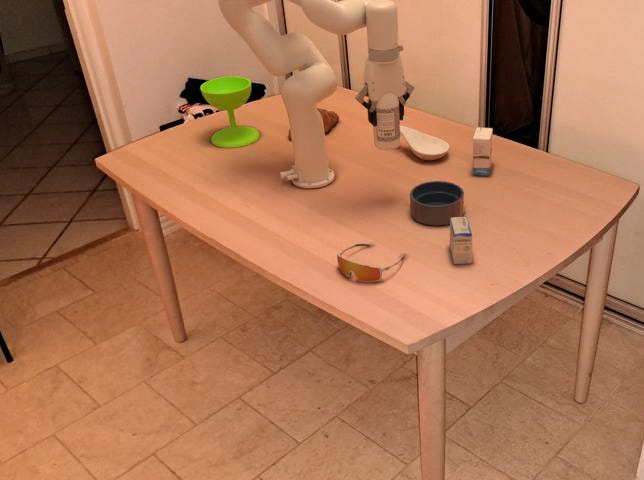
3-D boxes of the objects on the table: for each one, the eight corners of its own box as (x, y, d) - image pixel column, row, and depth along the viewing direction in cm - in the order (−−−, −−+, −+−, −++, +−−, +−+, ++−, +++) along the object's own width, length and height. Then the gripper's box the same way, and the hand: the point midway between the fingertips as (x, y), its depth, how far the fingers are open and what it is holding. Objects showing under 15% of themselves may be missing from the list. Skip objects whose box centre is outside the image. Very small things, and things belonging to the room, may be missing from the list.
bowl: (426, 231, 182) (425, 211, 178) (401, 208, 192) (401, 188, 189) (473, 218, 187) (474, 198, 183) (447, 195, 197) (447, 176, 194)
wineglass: (201, 143, 231) (189, 90, 221) (229, 125, 244) (219, 74, 233) (242, 150, 226) (232, 96, 216) (268, 131, 238) (260, 79, 228)
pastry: (334, 140, 231) (332, 116, 226) (287, 141, 231) (284, 117, 227) (339, 120, 245) (337, 97, 240) (295, 121, 245) (292, 98, 241)
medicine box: (449, 247, 175) (449, 217, 170) (467, 246, 175) (467, 215, 171) (453, 265, 169) (453, 234, 164) (472, 263, 169) (472, 232, 164)
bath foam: (404, 147, 186) (402, 73, 175) (380, 153, 184) (376, 78, 172) (393, 137, 191) (391, 65, 180) (370, 143, 189) (365, 69, 177)
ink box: (488, 176, 206) (490, 139, 199) (472, 175, 207) (472, 138, 200) (492, 164, 213) (493, 127, 206) (475, 163, 214) (476, 126, 207)
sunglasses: (327, 272, 167) (326, 253, 165) (363, 250, 179) (364, 232, 177) (376, 289, 161) (376, 270, 159) (411, 265, 173) (412, 247, 170)
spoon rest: (456, 154, 220) (456, 132, 215) (435, 168, 212) (435, 146, 208) (394, 138, 231) (393, 117, 227) (373, 151, 223) (371, 129, 219)
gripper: (408, 43, 179) (409, 110, 190) (344, 54, 173) (350, 123, 183) (421, 51, 174) (422, 120, 184) (357, 63, 168) (361, 133, 178)
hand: (386, 121), depth 184 cm, fingers closed on bath foam, 6 cm apart
